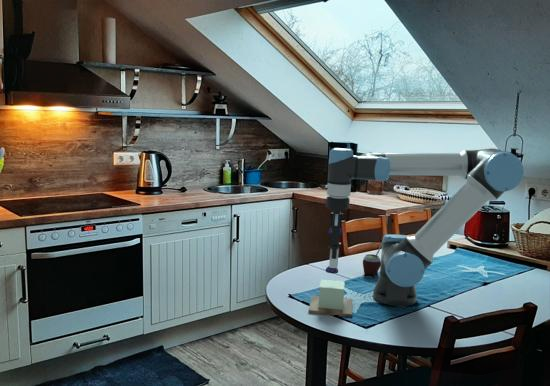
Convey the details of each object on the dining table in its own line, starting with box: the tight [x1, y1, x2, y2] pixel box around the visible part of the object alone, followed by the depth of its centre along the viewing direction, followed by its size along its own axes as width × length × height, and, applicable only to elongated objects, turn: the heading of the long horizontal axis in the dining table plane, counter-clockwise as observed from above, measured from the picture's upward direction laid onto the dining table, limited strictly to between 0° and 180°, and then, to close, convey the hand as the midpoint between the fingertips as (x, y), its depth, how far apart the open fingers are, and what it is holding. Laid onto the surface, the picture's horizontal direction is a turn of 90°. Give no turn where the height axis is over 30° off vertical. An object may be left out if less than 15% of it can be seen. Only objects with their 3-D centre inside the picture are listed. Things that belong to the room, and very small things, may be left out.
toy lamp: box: [324, 225, 344, 274], centre depth 179 cm, size 5×5×17 cm
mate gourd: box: [362, 243, 382, 279], centre depth 218 cm, size 8×8×15 cm
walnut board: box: [308, 294, 353, 318], centre depth 183 cm, size 14×14×1 cm
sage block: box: [318, 279, 346, 310], centre depth 182 cm, size 8×8×7 cm
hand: (333, 265), depth 180 cm, fingers closed on toy lamp, 3 cm apart
